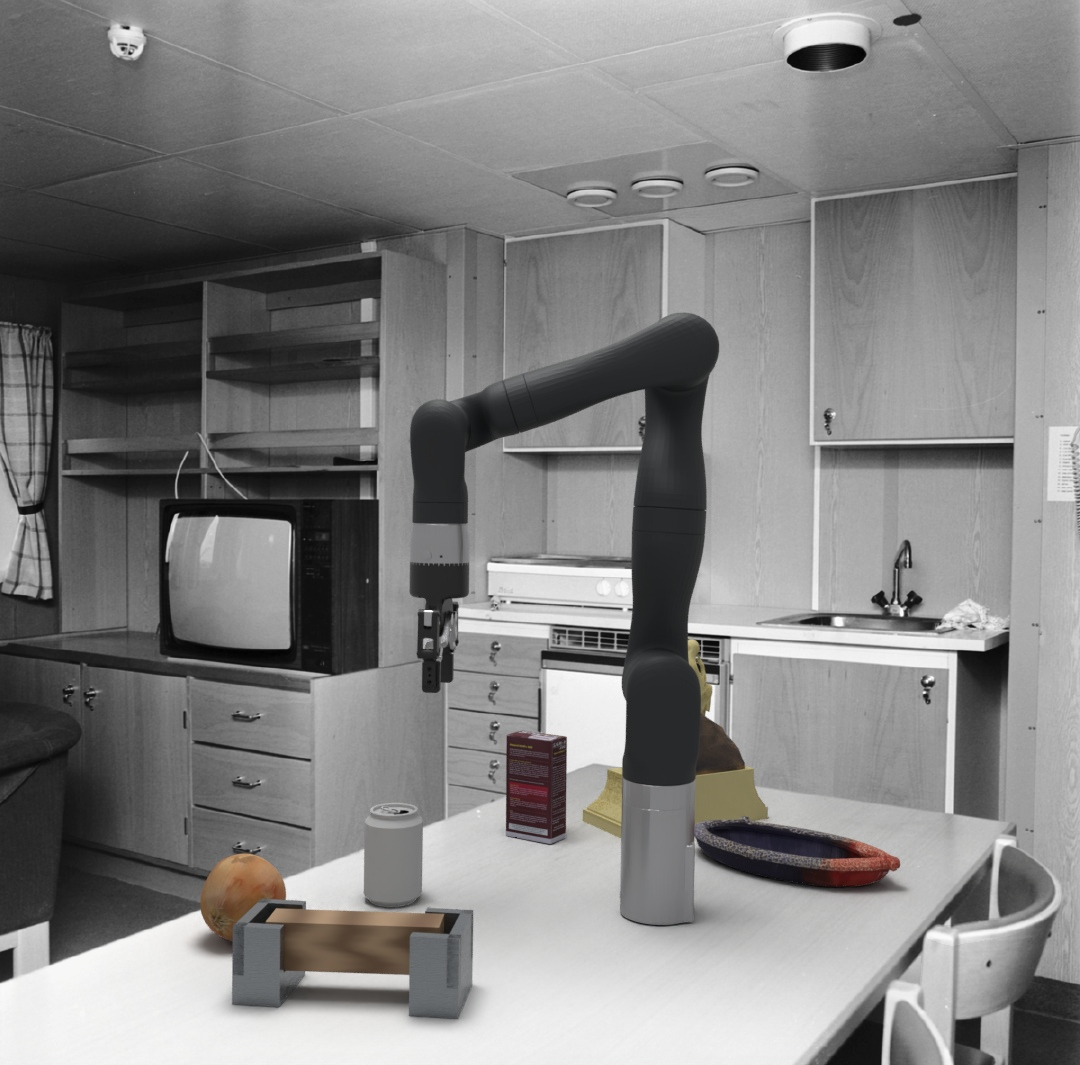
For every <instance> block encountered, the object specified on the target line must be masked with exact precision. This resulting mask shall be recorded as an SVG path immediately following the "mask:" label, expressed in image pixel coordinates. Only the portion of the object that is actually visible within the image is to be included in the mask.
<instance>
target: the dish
mask: <svg viewBox="0 0 1080 1065" xmlns="http://www.w3.org/2000/svg"><path fill="white" fill-rule="evenodd" d="M694 839H695V840H696V843H697V846H698V847H699V848H700V849H701V851H702V852H703V853H704V854H705V855H706V856H708V857H709V858H711V859H713V860H715V861H717V862H719V863H721V864H724V865H725V866H729V867H730V868H733V869H736V870H739V871H743V872H745V873H749V874H752V875H756V876H760V877H765V878H769V879H775V880H778V881H779V880H780V881H784V882H789V883H795V884H801V885H807V886H817V887H831V888H833V887H834V888H835V887H837V888H838V887H839V888H840V887H848V888H849V887H860V886H865V885H870V884H874V883H876V882H879V881H881V880H883V879H884V878H885V877H886V876H887V875H888V874H889V873H890V871H892V872H896V871H898V869H900V867H901V860H900V858H899V857H898V856H893V855H891V854H889V853H888V852H886V851H884V850H882V849H880V848H878V847H876V846H873V845H871V844H868V843H865V842H862V841H859V840H857V839H856V840H855V839H852V838H850V837H845V836H842V835H837V834H833V833H829V832H824V831H819V830H813V829H808V828H803V827H797V826H789V825H785V824H779V823H770V822H769V823H768V822H763V821H759V820H757V821H753V820H750V818H749V817H747V816H742V817H741V818H740V819H734V820H708V821H702V822H699V823H697V824H696V825H695V830H694Z"/></svg>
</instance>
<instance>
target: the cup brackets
mask: <svg viewBox="0 0 1080 1065" xmlns="http://www.w3.org/2000/svg"><path fill="white" fill-rule="evenodd" d="M276 908H278V909H307V900H294V899H293V900H292V899H291V900H290V899H286V900H278V899H261V900H260V901H259V902H258V903H257V904H255V905H254V906H253V907H252V908H251V909H250V910H249V911H248V912H247V913H246V914H245V915H244V916H243V917H242V918H241V919H240V920H239V921H238V922H237V923H236V924H235V925H234V926H233V941H232V950H231V951H232V952H231V954H232V955H231V956H232V959H231V962H232V965H231V968H232V971H231V974H232V976H231V977H232V979H231V990H232V991H231V1005H242V1006H243V1005H244V1006H256V1007H257V1006H258V1007H271V1008H272V1007H273V1008H274V1007H275V1008H280V1007H281V1006H282V1005H283V1003H284V1002H285V1000H287V998H288V997H289V996H290V994H291V993H292V991H293V990H294V989H295V988H296V987H297V986H298V984H299V983H300V981H301V980H302V979H303V977H305V975H306V971H284V925H279V924H265V922H266V921H267V919H268V918H269V917H270V916H271V914H272V913H273V912H274V911H275V909H276ZM424 913H433V914H444V934H436V933H419V932H412V934H411V935H410V966H409V975H408V976H409V979H408V982H409V983H408V984H409V986H408V987H409V989H408V1016H412V1017H422V1018H423V1017H426V1018H441V1019H442V1018H443V1019H455V1020H456V1019H459V1018H460V1015H461V1012H462V1010H463V1008H464V1006H465V1003H466V1002H467V998H468V996H469V994H470V991H471V988H472V986H473V970H474V969H473V966H474V965H473V964H474V963H473V962H474V961H473V959H474V953H473V952H474V909H462V908H461V909H460V908H459V909H457V908H440V907H439V908H437V907H427V908H426V909H425V911H424Z"/></svg>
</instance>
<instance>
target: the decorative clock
mask: <svg viewBox="0 0 1080 1065" xmlns="http://www.w3.org/2000/svg"><path fill="white" fill-rule="evenodd" d="M700 650H701V648H700V643H699V642H698V641H697V640H696V639H693V638H692V639H691V638H690V639H688V657H689V664H690V665H691V667H692V668H693V669H694V670H695V672H696V674H697V676H698V679H699V682H700V689H701V720H700V746H699V756H698V760H697V764H696V778H695V825H696V824H697V823H699V822H702V821H708V820H734V819H740V818H741V817H742V816H747V817H749V818H750V820H753V821H762V820H768V815H769V814H768V813H769V812H768V811H769V808H768V806H767V805H766V804H765V802H764V801H763V800H762V799H761V797H760V796H759V794H758V791H757V789H756V784H755V768H754V767H749V766H747V765H746V763H745V760H744V759H743V756H742V754H741V751H740V748H739V747H738V746H737V745H736V743H735V742H734V741H733V739H731V737H729V735H728V734H726V732H725V729H724V727H723V726H721V725H720V724H718V723H716V722H715V721H714V720H712V719H710V718H708V717H707V716H706V712H711V704H712V696H713V686H712V684H710V683H707V673H706V667H705V664H704V662H703V660H702V658H701V656H700V655H699V652H700ZM696 657H697V658H696ZM697 664H698V665H699V666H700V670H699V667H698V665H697ZM606 771H607V772H606V774H607V775H606V782H605V785H604V788H603V790H602V792H601V793H600V794H599V796H598V797H597V798H596V799H595V800H594V801H592V802H591V803H590V804H589V805H587V806H586V808H582V822H583V823H586V824H589V825H591V826H593V827H595V828H597V829H599V830H601V831H604V832H606V833H608V834H610V835H613V836H614V837H617V838H619V839H621V817H622V767H615V768H614V767H613V768H608V769H607V770H606Z"/></svg>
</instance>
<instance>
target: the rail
mask: <svg viewBox="0 0 1080 1065" xmlns="http://www.w3.org/2000/svg"><path fill="white" fill-rule="evenodd" d="M265 924H279V925H284V971H305V972H310V973H311V972H313V973H314V972H315V973H316V972H317V973H338V974H339V973H341V974H342V973H343V974H344V973H345V974H370V975H372V974H374V975H394V976H395V975H396V976H397V975H399V976H400V975H401V976H402V975H403V976H409V966H410V935H411V934H412V932H419V933H436V934H444V914H433V913H425V912H398V911H396V912H394V911H393V912H392V911H368V910H367V911H366V910H365V911H364V910H363V911H362V910H339V909H337V910H335V909H331V910H330V909H307V908H306V909H278V908H276V909H275V911H274V912H273V913H272V914H271V916H270V917H269V918H268V919H267V921H266V922H265Z"/></svg>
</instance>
